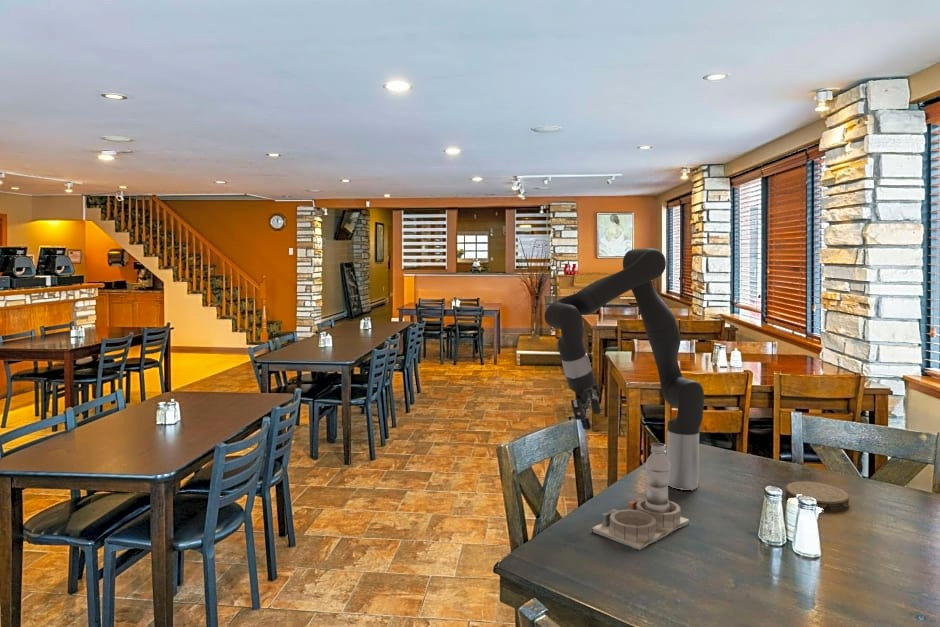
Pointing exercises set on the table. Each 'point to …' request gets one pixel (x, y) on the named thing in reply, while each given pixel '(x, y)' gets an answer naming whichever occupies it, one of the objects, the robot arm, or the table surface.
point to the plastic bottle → (657, 480)
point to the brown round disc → (820, 494)
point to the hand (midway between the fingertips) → (592, 421)
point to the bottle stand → (639, 523)
